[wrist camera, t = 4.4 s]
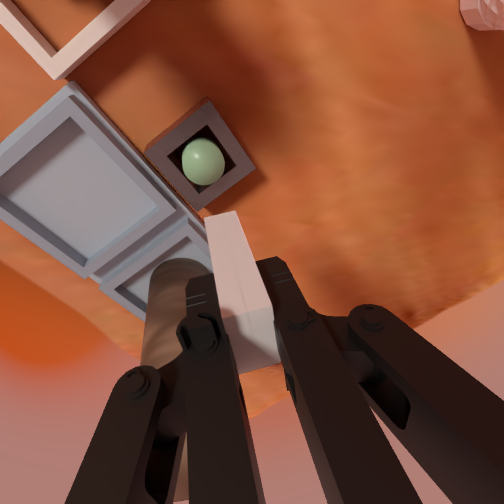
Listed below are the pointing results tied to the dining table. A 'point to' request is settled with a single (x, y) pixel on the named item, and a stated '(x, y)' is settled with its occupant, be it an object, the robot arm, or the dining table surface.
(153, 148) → the button box
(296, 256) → the dining table surface
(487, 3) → the white cup
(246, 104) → the dining table surface
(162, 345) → the seated post
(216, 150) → the button
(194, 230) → the grey divided tray
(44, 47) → the square frame
